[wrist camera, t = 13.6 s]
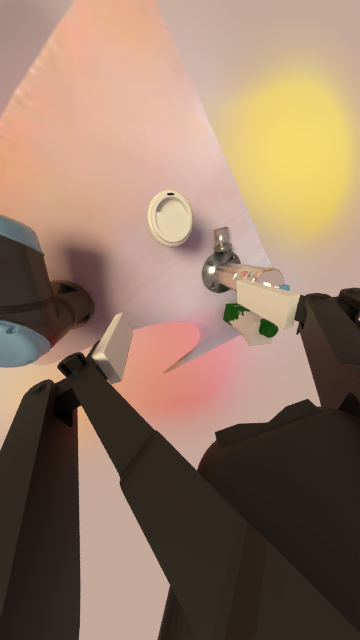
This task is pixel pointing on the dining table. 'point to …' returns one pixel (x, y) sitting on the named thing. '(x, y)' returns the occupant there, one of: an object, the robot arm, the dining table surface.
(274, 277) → the water bottle
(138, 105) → the dining table surface
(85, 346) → the dining table surface
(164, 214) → the coffee cup
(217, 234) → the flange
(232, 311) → the milk carton
